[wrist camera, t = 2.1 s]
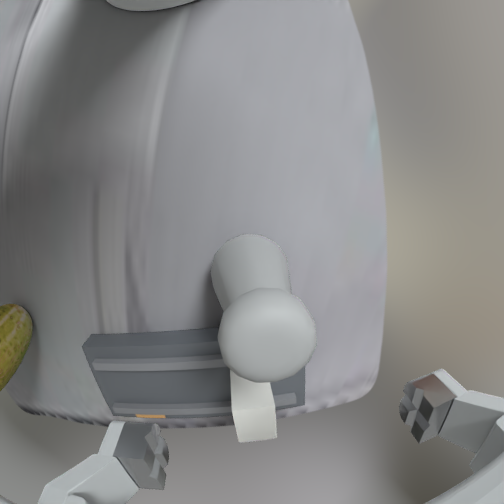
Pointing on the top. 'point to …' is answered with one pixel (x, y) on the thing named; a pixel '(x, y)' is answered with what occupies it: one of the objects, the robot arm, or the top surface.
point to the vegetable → (13, 339)
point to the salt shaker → (260, 311)
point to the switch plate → (172, 375)
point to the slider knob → (252, 409)
